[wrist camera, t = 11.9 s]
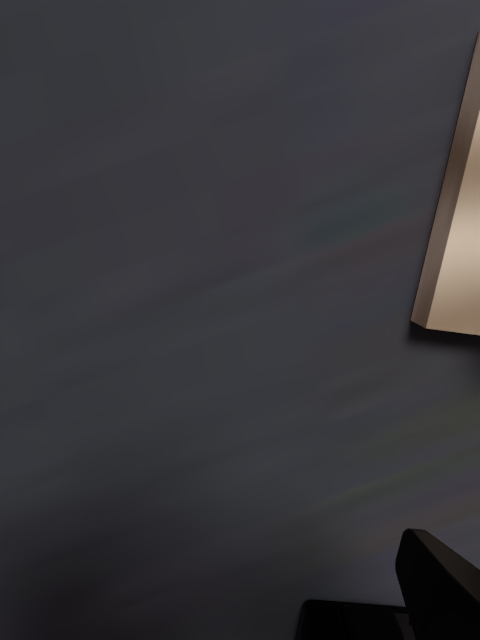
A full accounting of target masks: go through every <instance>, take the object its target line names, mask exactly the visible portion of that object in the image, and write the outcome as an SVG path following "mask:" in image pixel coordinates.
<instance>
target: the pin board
mask: <svg viewBox="0 0 480 640" xmlns="http://www.w3.org/2000/svg"><path fill="white" fill-rule="evenodd" d="M411 321H413V322H415V323H417V324H418V325H420V326H422V327H424V328H427V329H435V330H443V331H450V332H458V333H465V334H473V335H480V30H479V33H478V38H477V42H476V46H475V50H474V54H473V59H472V63H471V67H470V71H469V76H468V80H467V84H466V88H465V92H464V97H463V101H462V105H461V109H460V114H459V118H458V122H457V126H456V130H455V135H454V139H453V143H452V147H451V151H450V156H449V160H448V164H447V168H446V173H445V177H444V181H443V185H442V189H441V194H440V198H439V202H438V206H437V211H436V215H435V219H434V223H433V227H432V232H431V236H430V240H429V244H428V249H427V253H426V257H425V261H424V265H423V270H422V274H421V278H420V282H419V287H418V291H417V295H416V299H415V303H414V308H413V312H412V316H411Z"/></svg>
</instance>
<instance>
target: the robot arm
mask: <svg viewBox="0 0 480 640" xmlns="http://www.w3.org/2000/svg"><path fill="white" fill-rule="evenodd" d="M395 568H396V574H397V578H398V581H399V585H400V588H401V591H402V595H403V598H404V602H405V605H406V607H394V606H382V605H370V604H358V603H346V602H334V601H322V600H309V601H307V602H306V603H305V604H304V606H303V610H302V614H301V619H300V624H299V629H298V633H297V638H296V640H480V570H479V569H478V568H476V567H475V566H474V565H472V564H471V563H470V562H468V561H467V560H465V559H464V558H463V557H461V556H460V555H459V554H457V553H456V552H455V551H453V550H452V549H450V548H449V547H448V546H446V545H445V544H444V543H442V542H441V541H440V540H438V539H437V538H435V537H434V536H433V535H431V534H430V533H429V532H427V531H425V530H421V529H410V528H408V529H406V530H405V531H404V532H403V534H402V538H401V542H400V546H399V549H398V553H397V557H396V563H395ZM313 610H315V611H313Z"/></svg>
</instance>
